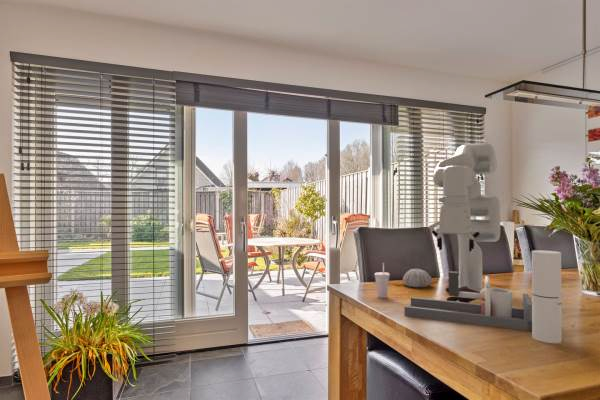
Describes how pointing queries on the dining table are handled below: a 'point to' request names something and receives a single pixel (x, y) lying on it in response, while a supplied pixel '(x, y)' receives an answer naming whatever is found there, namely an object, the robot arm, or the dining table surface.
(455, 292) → the foosball rod
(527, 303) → the grey walled channel
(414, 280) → the sea urchin shell
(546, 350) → the dining table surface
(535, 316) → the cylindrical container
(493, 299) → the drinking glass
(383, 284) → the smoothie
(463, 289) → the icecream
